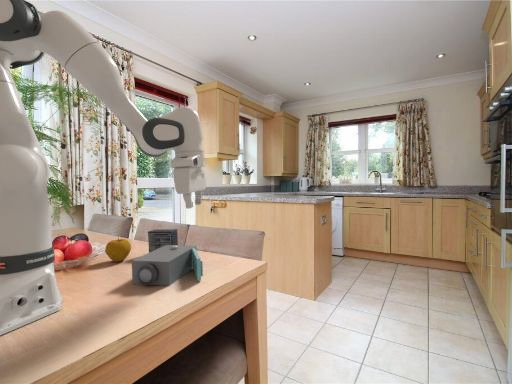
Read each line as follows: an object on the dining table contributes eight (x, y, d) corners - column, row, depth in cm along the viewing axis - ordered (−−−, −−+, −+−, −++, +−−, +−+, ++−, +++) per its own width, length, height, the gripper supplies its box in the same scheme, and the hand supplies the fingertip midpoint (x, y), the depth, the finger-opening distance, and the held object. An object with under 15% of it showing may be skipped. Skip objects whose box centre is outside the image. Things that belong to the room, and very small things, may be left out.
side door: (203, 280, 80) (202, 258, 80) (197, 280, 80) (197, 258, 80) (197, 266, 94) (196, 247, 94) (192, 266, 93) (191, 248, 93)
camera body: (165, 289, 75) (164, 261, 75) (127, 287, 77) (125, 260, 77) (197, 264, 97) (196, 243, 97) (166, 263, 99) (166, 242, 99)
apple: (114, 266, 98) (112, 241, 98) (100, 262, 103) (99, 239, 102) (136, 259, 106) (135, 237, 105) (122, 257, 110) (122, 235, 110)
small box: (179, 252, 115) (178, 228, 115) (172, 256, 109) (172, 231, 109) (155, 252, 116) (154, 228, 116) (148, 256, 110) (147, 231, 110)
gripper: (190, 164, 94) (194, 203, 94) (167, 161, 73) (172, 211, 74) (208, 162, 93) (211, 202, 94) (190, 159, 73) (194, 209, 74)
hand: (194, 206), depth 84 cm, fingers open, 8 cm apart
